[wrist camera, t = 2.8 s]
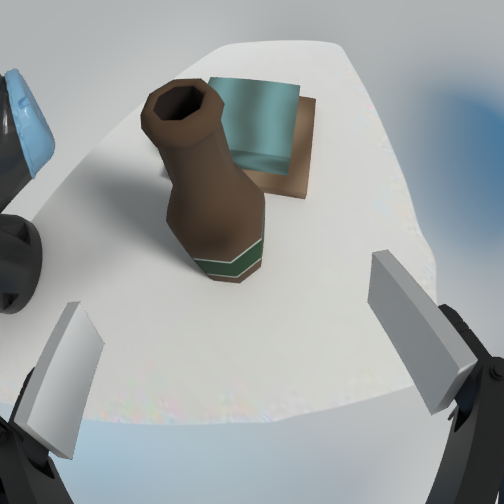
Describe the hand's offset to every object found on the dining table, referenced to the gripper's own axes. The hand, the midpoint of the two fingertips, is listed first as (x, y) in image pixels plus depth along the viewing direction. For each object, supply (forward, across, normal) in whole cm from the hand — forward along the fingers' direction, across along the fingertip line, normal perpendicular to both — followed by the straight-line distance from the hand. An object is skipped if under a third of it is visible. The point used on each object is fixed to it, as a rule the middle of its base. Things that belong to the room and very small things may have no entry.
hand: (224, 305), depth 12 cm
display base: (+31, +4, +2) cm, 31 cm away
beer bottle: (+20, 0, -9) cm, 22 cm away
